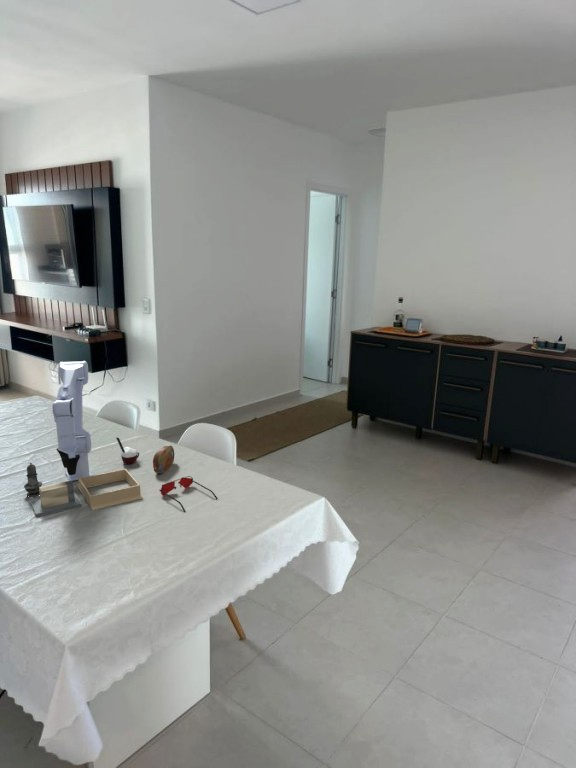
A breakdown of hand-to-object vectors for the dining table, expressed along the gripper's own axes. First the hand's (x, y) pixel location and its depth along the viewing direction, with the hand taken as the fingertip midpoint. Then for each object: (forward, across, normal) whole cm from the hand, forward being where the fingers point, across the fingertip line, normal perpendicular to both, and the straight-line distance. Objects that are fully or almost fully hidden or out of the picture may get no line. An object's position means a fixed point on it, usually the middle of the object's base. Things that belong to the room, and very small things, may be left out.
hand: (69, 470), depth 184 cm
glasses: (+10, -23, -34) cm, 42 cm away
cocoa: (+10, +19, -26) cm, 34 cm away
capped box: (+8, -5, +5) cm, 11 cm away
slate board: (+9, -5, +6) cm, 12 cm away
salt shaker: (+10, +8, +11) cm, 17 cm away
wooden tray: (+9, -4, -12) cm, 16 cm away
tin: (+10, +6, -36) cm, 38 cm away
